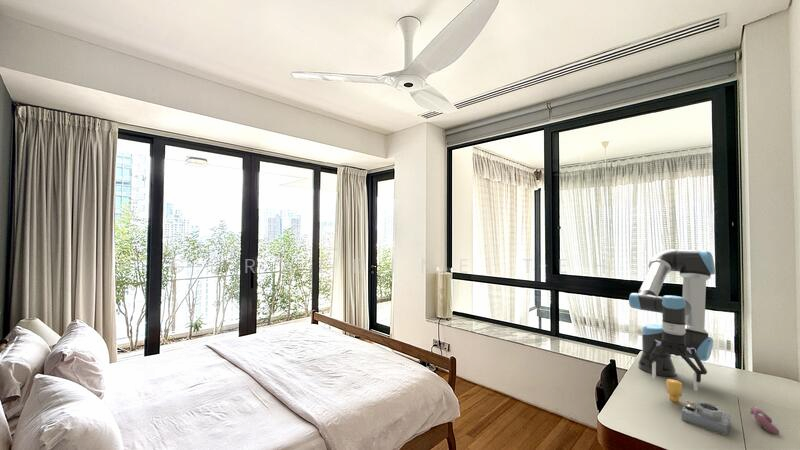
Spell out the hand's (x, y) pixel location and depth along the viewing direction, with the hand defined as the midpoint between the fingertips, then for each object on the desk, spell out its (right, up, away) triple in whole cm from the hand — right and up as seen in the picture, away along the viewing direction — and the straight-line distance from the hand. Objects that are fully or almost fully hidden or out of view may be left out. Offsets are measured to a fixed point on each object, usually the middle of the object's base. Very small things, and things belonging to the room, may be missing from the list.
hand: (673, 383), depth 135 cm
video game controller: (+18, -8, -17) cm, 26 cm away
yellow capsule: (0, -8, 0) cm, 7 cm away
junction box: (-1, -7, -15) cm, 17 cm away
